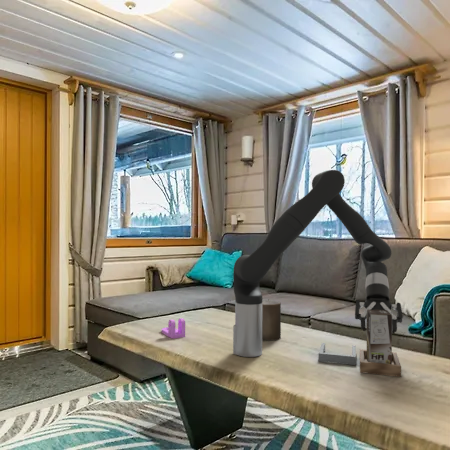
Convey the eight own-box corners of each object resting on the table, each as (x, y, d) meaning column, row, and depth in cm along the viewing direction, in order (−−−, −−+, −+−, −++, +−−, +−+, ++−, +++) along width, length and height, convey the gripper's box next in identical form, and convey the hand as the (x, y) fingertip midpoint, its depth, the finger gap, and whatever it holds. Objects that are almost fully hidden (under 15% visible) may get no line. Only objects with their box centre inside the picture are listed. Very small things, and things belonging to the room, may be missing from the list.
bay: (318, 361, 129) (318, 353, 129) (321, 349, 142) (321, 342, 142) (355, 365, 126) (355, 357, 126) (355, 353, 138) (355, 345, 138)
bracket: (185, 337, 158) (185, 319, 158) (172, 338, 155) (172, 320, 155) (172, 330, 169) (172, 313, 169) (159, 331, 166) (159, 314, 166)
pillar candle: (285, 339, 156) (285, 300, 156) (264, 341, 152) (264, 301, 152) (272, 333, 165) (272, 296, 165) (251, 335, 160) (251, 298, 161)
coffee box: (392, 369, 119) (392, 315, 120) (369, 367, 121) (369, 313, 121) (387, 360, 128) (387, 309, 129) (366, 358, 130) (366, 308, 130)
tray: (360, 372, 119) (360, 362, 119) (359, 358, 133) (359, 349, 133) (401, 376, 116) (401, 366, 116) (396, 361, 129) (396, 352, 129)
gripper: (355, 281, 136) (354, 322, 125) (400, 283, 132) (404, 326, 121) (355, 294, 141) (354, 335, 130) (399, 297, 137) (402, 339, 126)
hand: (378, 331), depth 126 cm, fingers open, 8 cm apart
